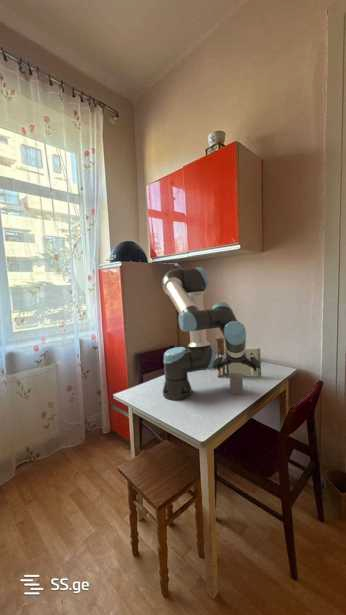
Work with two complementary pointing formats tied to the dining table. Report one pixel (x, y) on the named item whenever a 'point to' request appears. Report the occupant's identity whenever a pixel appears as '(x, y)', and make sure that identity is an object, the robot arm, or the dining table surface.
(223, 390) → the dining table surface
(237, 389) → the dark grey upright block
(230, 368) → the door
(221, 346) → the door post
